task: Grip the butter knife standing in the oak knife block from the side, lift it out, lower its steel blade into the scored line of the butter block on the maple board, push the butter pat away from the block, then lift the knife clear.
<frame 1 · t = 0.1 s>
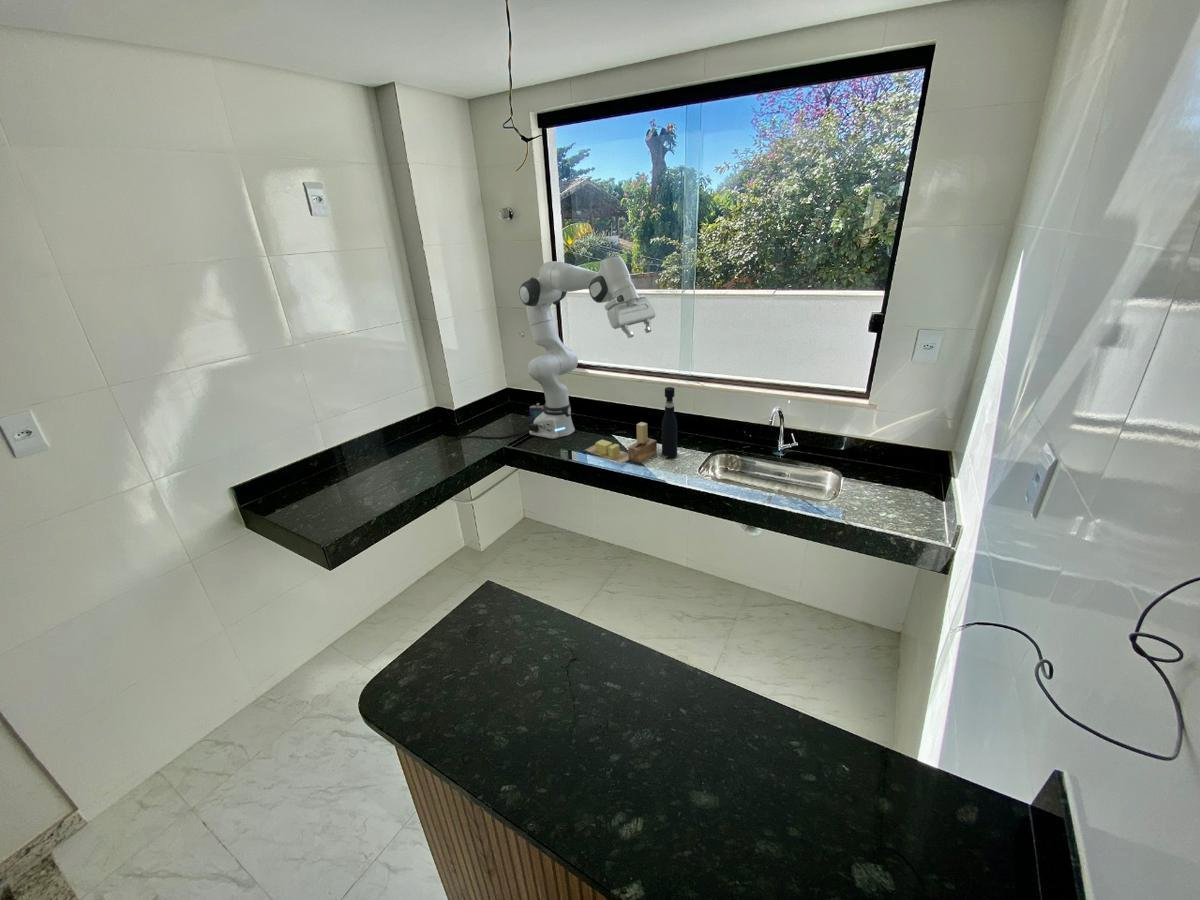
hand: (640, 334, 176), 54 cm above the counter, tool tilted 30°, fingers open, 8 cm apart
butter: (604, 450, 212), point 1 cm above the counter, touching board
flask: (540, 423, 250), on the counter
board: (609, 455, 211), on the counter
butter pat: (614, 454, 209), point 1 cm above the counter, touching board
knife: (642, 441, 203), in the knife block
knife block: (642, 458, 206), on the counter
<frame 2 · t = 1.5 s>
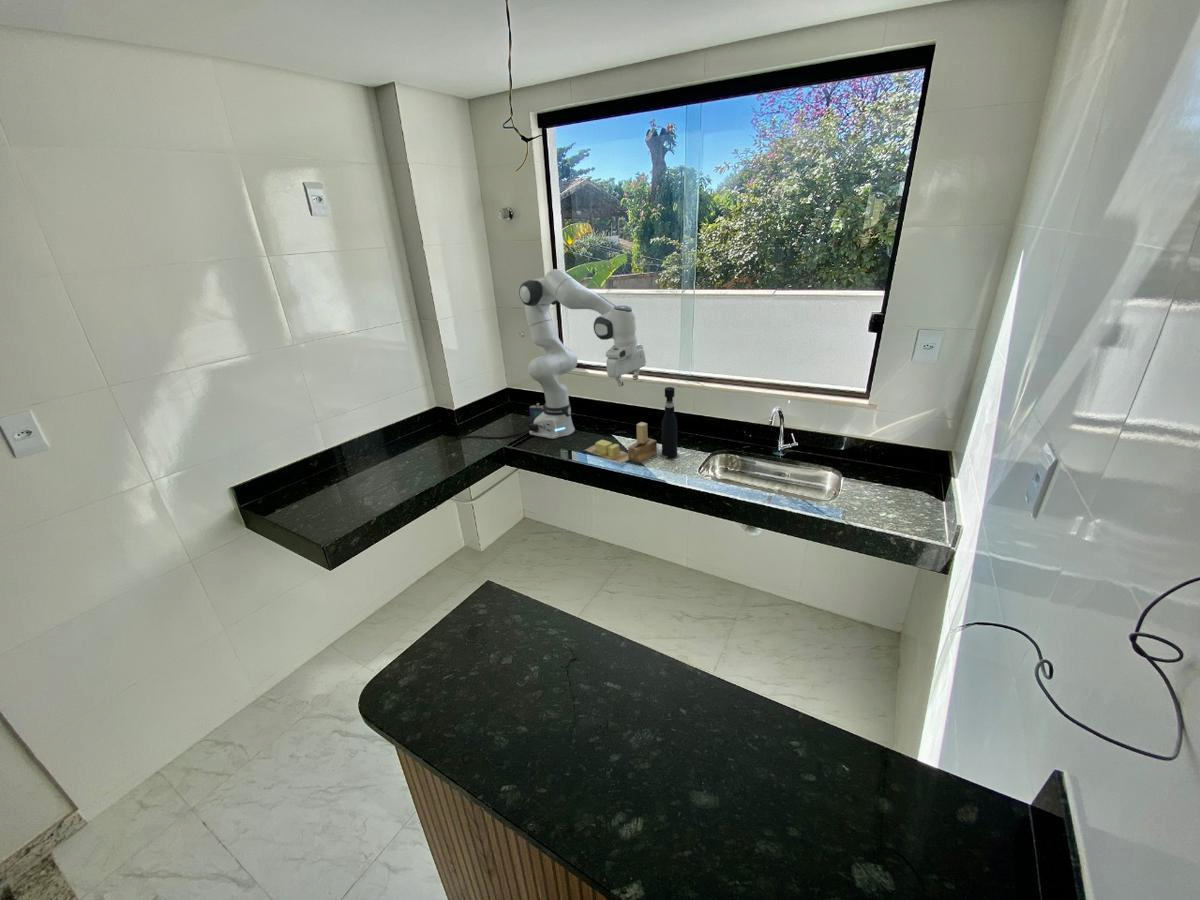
hand: (628, 382, 196), 33 cm above the counter, tool pointing down, fingers open, 8 cm apart
nothing on the counter moved.
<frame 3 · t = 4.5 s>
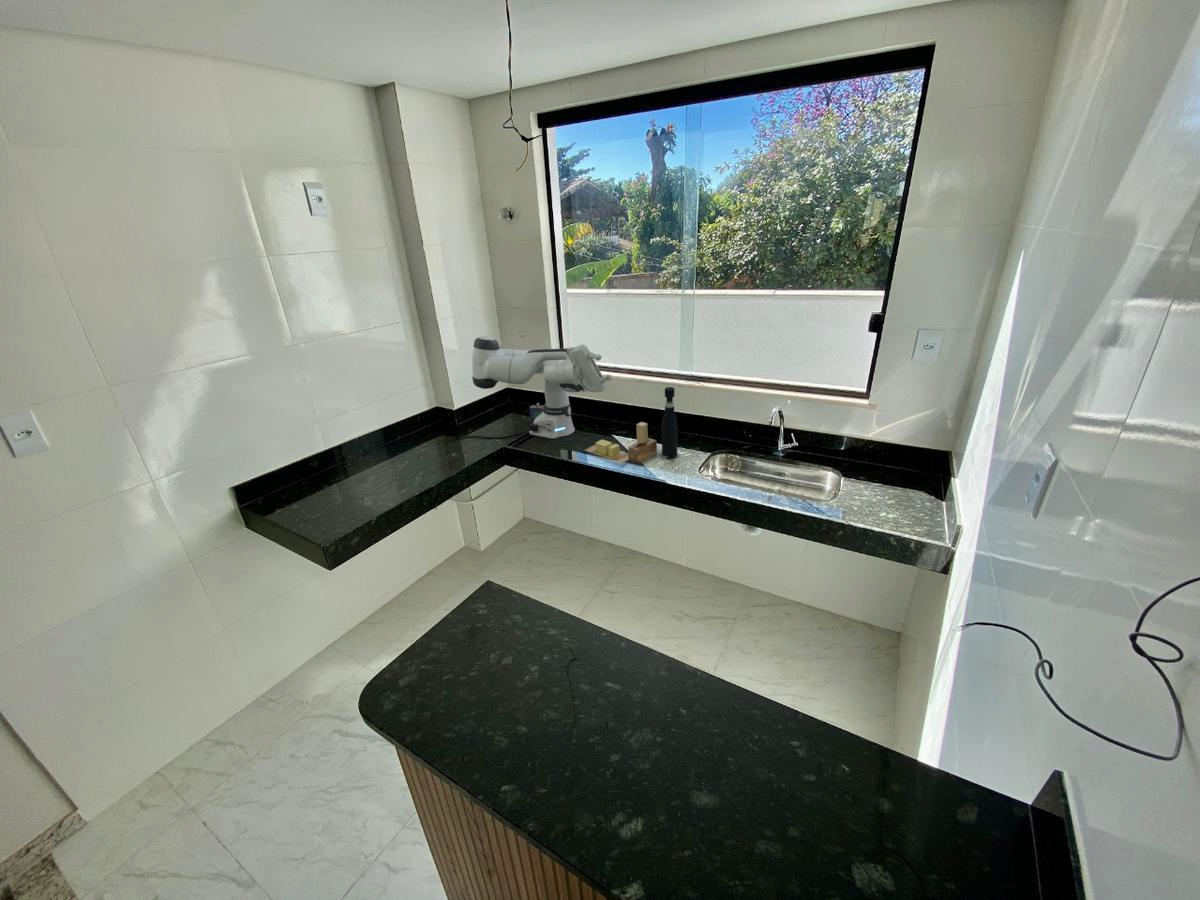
hand: (605, 367, 179), 44 cm above the counter, tool horizontal, fingers open, 8 cm apart
nothing on the counter moved.
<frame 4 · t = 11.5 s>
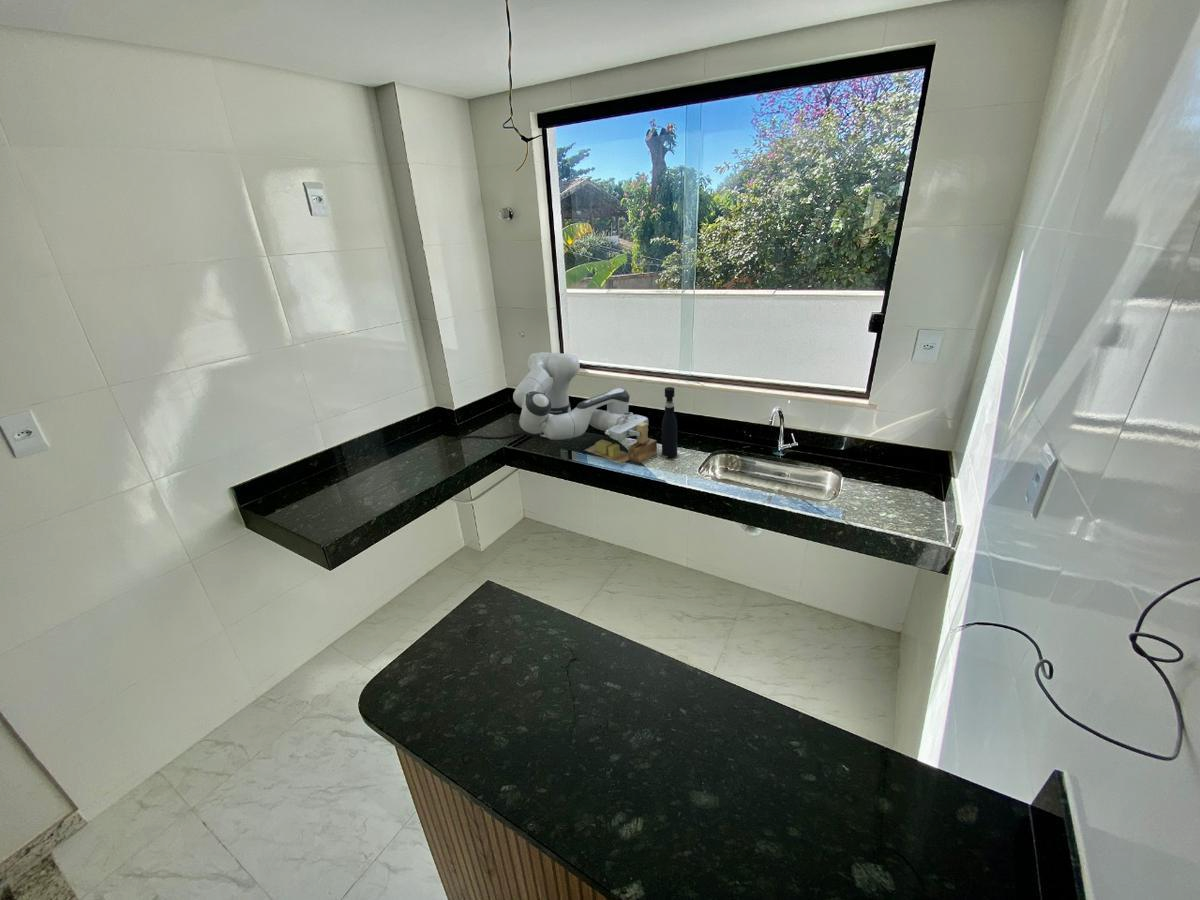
hand: (643, 432, 200), 13 cm above the counter, tool horizontal, fingers closed on knife, 3 cm apart
knife: (642, 441, 203), in the knife block, touching gripper
everything else where it was.
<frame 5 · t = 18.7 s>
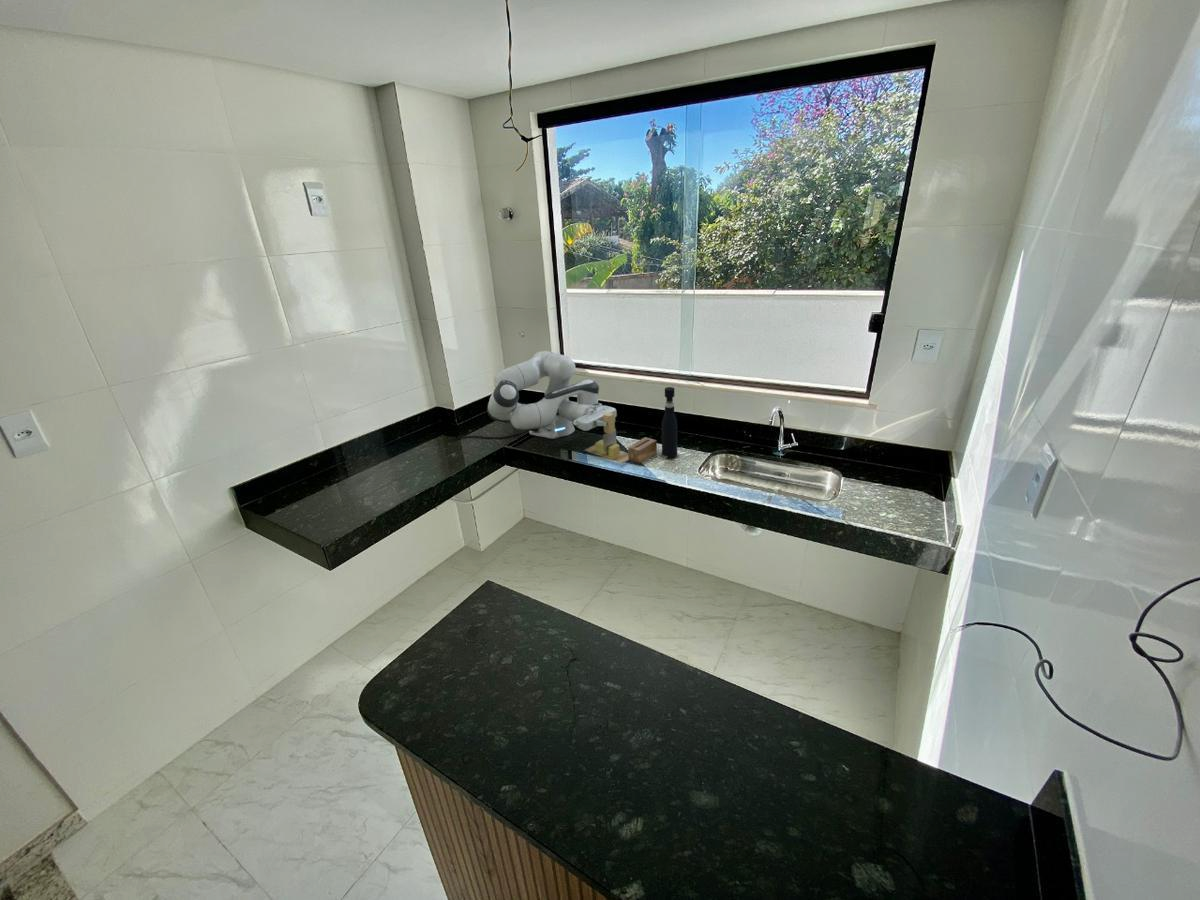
hand: (610, 422, 203), 16 cm above the counter, tool horizontal, fingers closed on knife, 3 cm apart
knife: (609, 431, 205), point 11 cm above the counter, touching gripper
everything else where it was.
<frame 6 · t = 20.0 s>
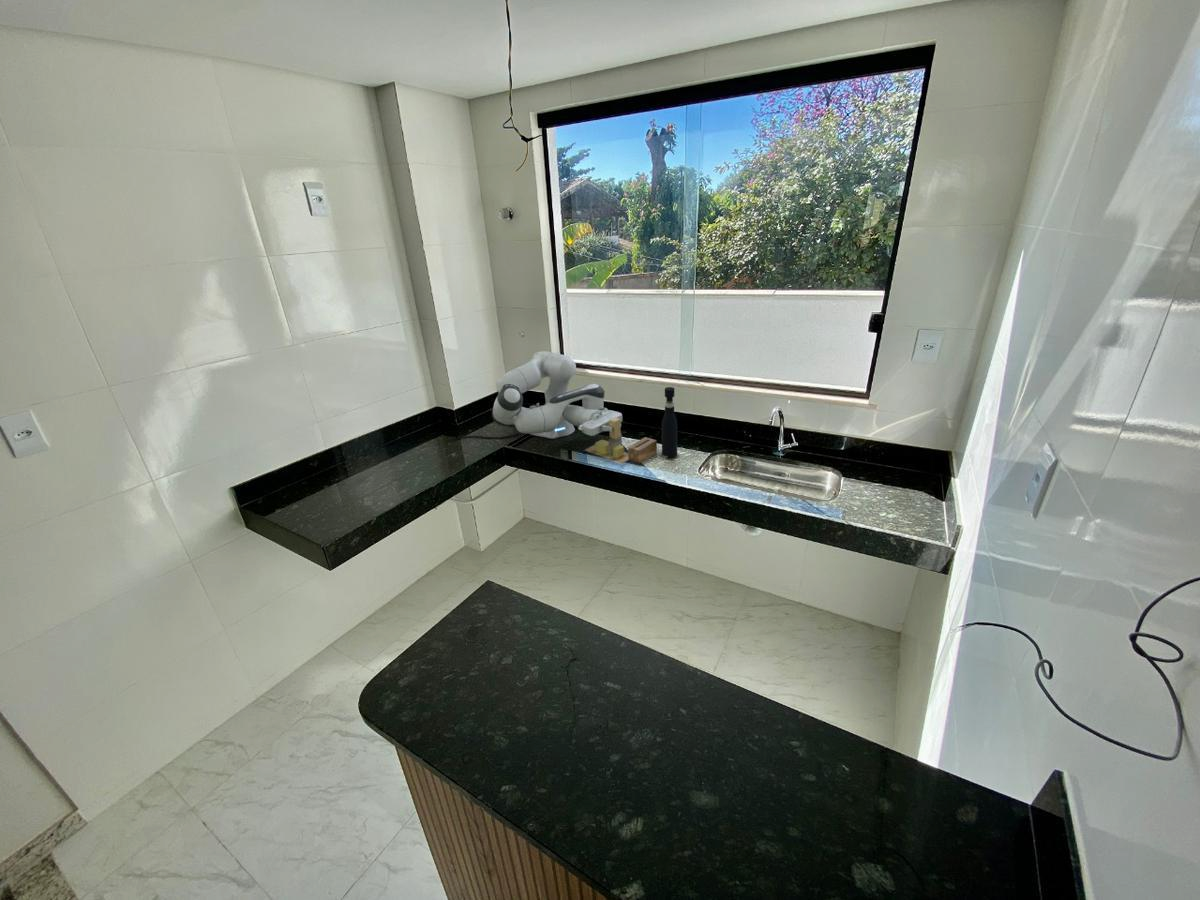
hand: (616, 427, 202), 14 cm above the counter, tool horizontal, fingers closed on knife, 3 cm apart
butter pat: (618, 455, 207), point 1 cm above the counter, touching knife
knife: (615, 436, 204), point 10 cm above the counter, touching butter pat, gripper
everything else where it was.
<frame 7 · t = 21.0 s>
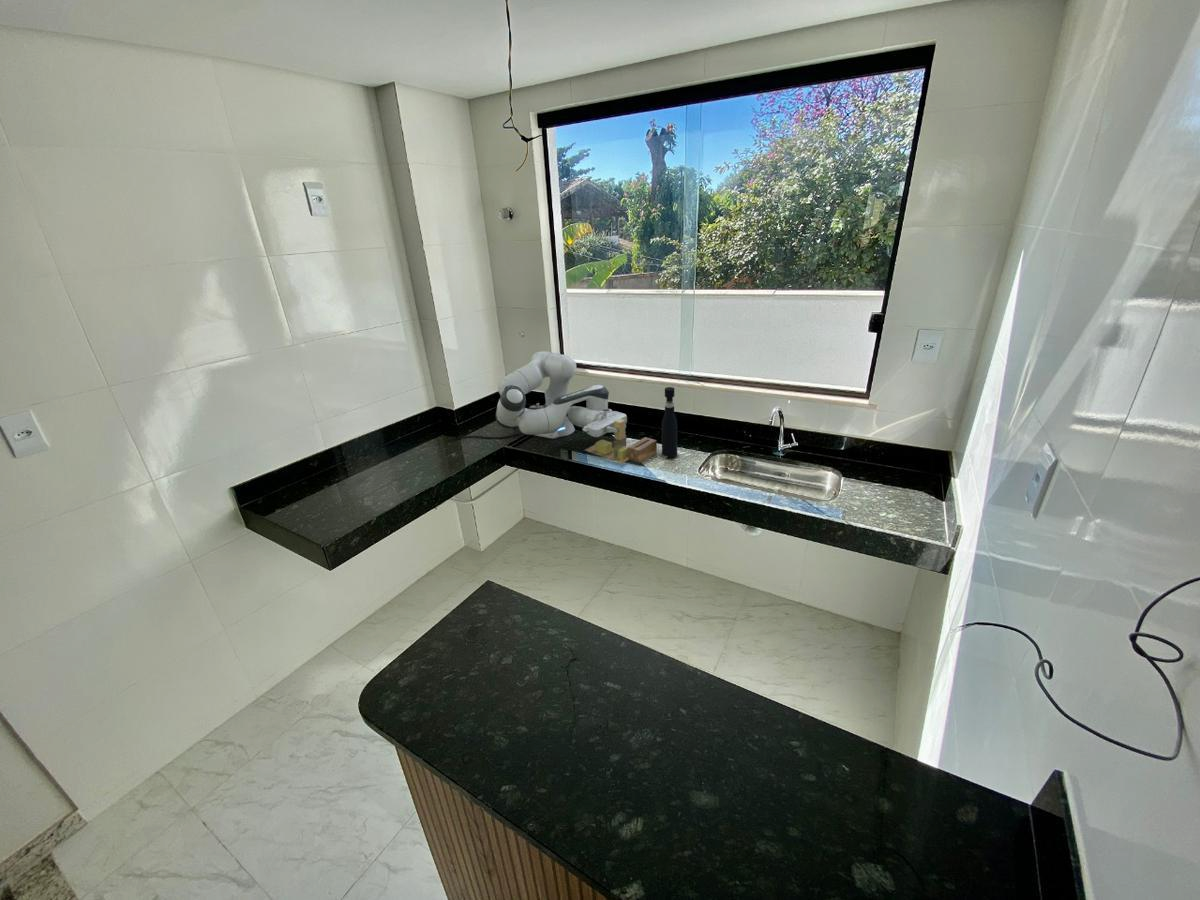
hand: (621, 428, 200), 15 cm above the counter, tool horizontal, fingers closed on knife, 3 cm apart
butter pat: (622, 457, 206), point 1 cm above the counter, touching knife
knife: (619, 438, 203), point 10 cm above the counter, touching butter pat, gripper
everything else where it was.
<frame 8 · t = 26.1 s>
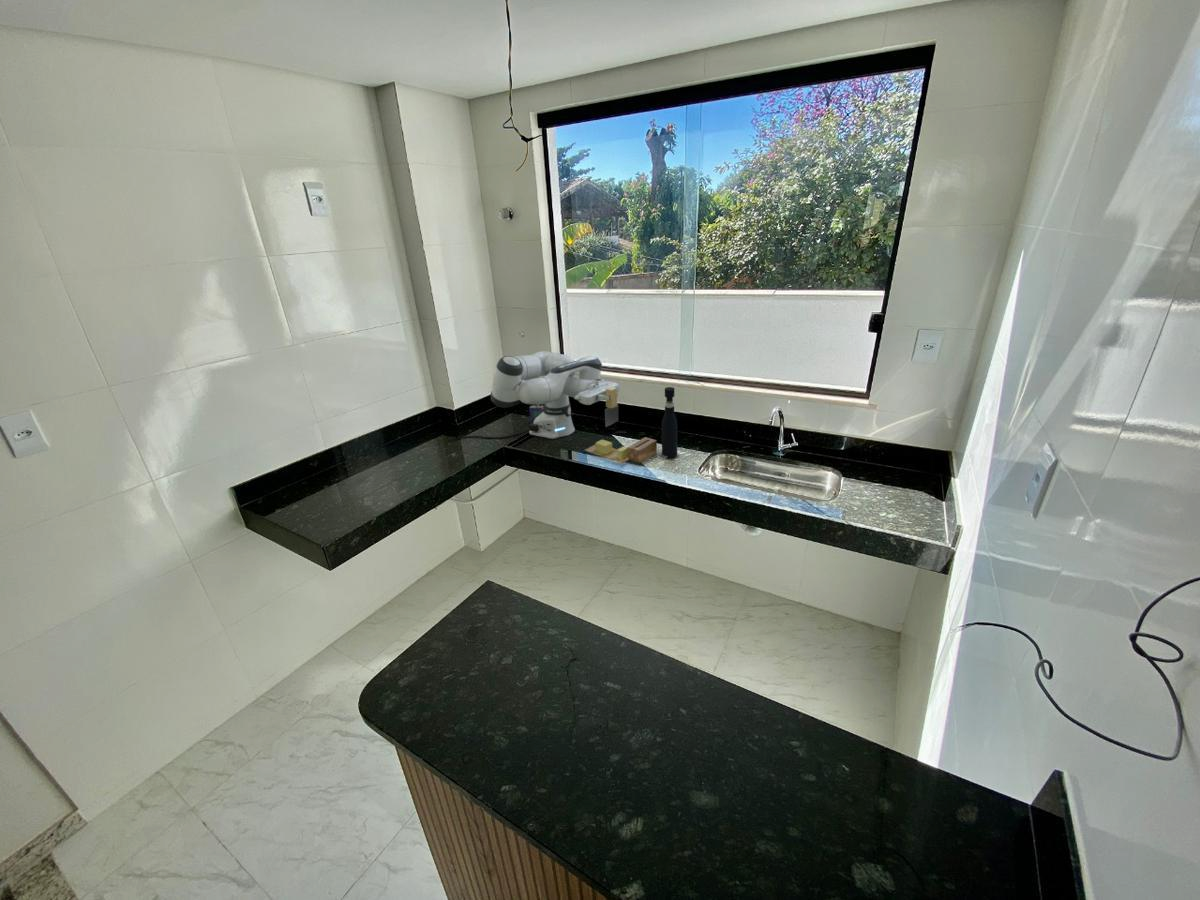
hand: (613, 396, 199), 27 cm above the counter, tool horizontal, fingers closed on knife, 3 cm apart
butter pat: (622, 457, 206), point 1 cm above the counter, touching board
knife: (611, 406, 202), point 22 cm above the counter, touching gripper
everything else where it was.
at the end: the gripper is holding knife; butter pat moved 4.8 cm from its start; butter pat touching board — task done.
